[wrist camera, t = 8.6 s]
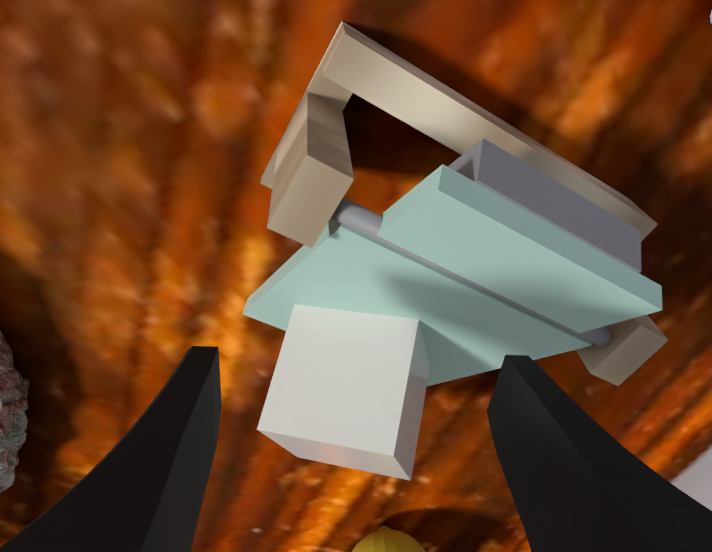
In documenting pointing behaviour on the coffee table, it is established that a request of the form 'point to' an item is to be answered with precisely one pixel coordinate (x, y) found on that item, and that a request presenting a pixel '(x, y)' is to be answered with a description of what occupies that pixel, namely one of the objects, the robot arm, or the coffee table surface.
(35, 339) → the coffee table surface
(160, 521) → the robot arm
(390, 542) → the lemon
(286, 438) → the white cube
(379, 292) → the trapdoor
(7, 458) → the mineral rock
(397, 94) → the frame
